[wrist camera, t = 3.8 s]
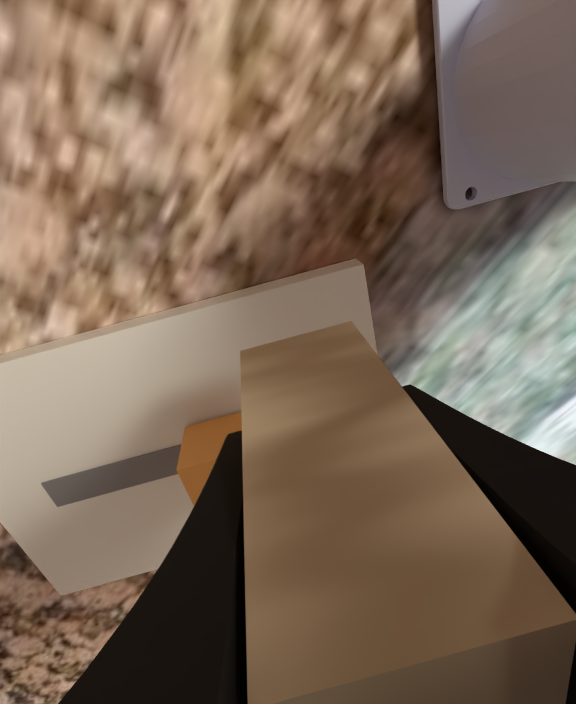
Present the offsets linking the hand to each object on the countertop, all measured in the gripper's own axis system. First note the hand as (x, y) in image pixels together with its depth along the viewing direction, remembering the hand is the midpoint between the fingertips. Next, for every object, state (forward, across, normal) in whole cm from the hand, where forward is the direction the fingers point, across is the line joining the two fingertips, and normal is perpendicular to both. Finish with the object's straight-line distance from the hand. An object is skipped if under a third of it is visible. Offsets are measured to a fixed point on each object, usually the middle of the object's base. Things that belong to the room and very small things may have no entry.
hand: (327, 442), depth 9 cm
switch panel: (+9, +6, +5) cm, 13 cm away
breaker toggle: (+8, +4, +5) cm, 11 cm away
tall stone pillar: (+2, 0, 0) cm, 3 cm away
